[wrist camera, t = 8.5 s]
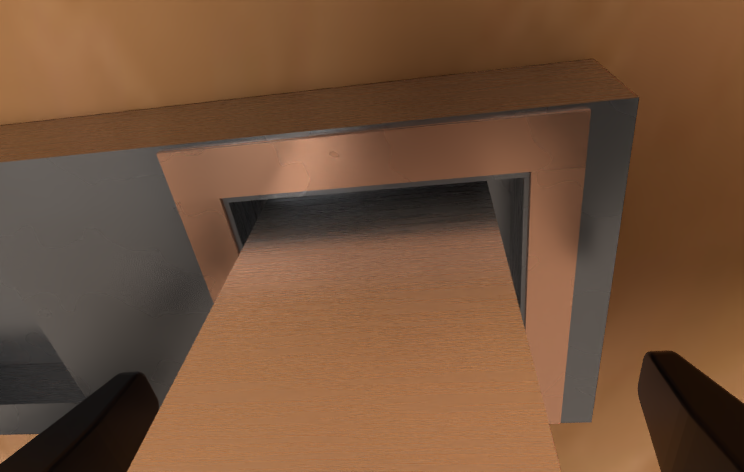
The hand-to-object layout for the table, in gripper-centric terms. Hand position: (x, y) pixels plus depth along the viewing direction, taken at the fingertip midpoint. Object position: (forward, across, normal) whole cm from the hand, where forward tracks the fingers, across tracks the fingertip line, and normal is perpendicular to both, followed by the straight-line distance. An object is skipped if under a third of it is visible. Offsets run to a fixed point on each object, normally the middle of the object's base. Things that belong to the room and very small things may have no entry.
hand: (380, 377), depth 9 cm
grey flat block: (+4, +6, 0) cm, 7 cm away
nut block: (+4, 0, 0) cm, 4 cm away
